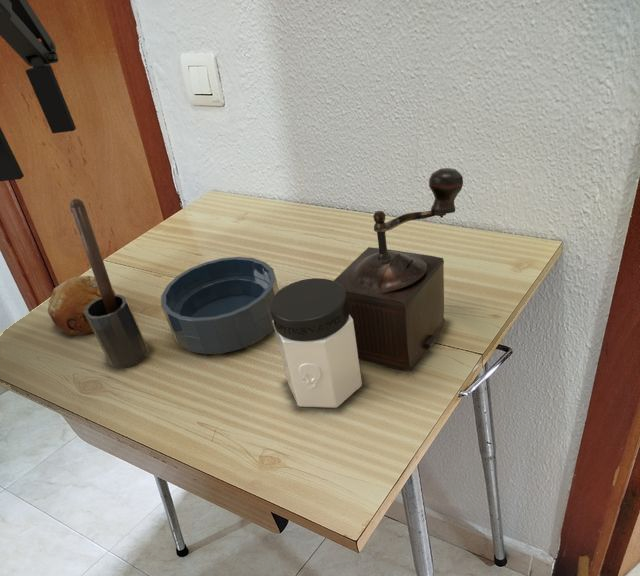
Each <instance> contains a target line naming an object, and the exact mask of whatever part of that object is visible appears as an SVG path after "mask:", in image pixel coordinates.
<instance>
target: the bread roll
mask: <svg viewBox="0 0 640 576" xmlns="http://www.w3.org/2000/svg"><path fill="white" fill-rule="evenodd" d="M113 292H114V294H116V292H115V290H114V289H113ZM100 297H101V294H100V291H99V288H98V285H97V282H96V279H95V277H94V275H82V276H74V277H70V278H69V279H67V280H65V281H63V282H61V283H60V284H59V285H57V286H55V287H54V288H53V290H52V294H51V295H50V297H49V300H48V307H47V313H48V315H49V317H50V318H51V321H52V322H53V324H54V325H55V327H57V329H58V330H60V331H61V332H63V333H64V334H67V335H68V336H84V335H89V334H92V333H94V332H93V330H92V328H91V326H90V324H89V322H88V321H87V319H86V317H85V312H84V310H85V309H86V307H87V306H88V304H90V303H91V302H93V301H94V300H96V299H98V298H100Z"/></svg>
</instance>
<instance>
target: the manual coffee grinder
mask: <svg viewBox="0 0 640 576" xmlns="http://www.w3.org/2000/svg"><path fill="white" fill-rule="evenodd" d="M463 178H464V176H463V175H462V174H461V172H460V171H458V170H457V169H455V168H452V167H451V168H450V167H444V168H439V169H437V170H435V171H433V172H432V173H431V175H430V176H429V178H428V187H429V189H430V191H431V192H432V194H433V198H434V200H433V203H432V205H431V207H430V210H427V211H425V210H424V211H414V212H408V213H405V214H401V215H399V216H396V217H394V218H393V219H391V220H388V221H386V213H385V212H384V211H383V210H377V211H375V212H374V214H373V216H372V217H373V221H374V225H373V231H374V232H376V236H377V245H378V247H370V246H368V247H367V248H366V249H365V250H364V251H363V252H362V253H361V254H360V255H359V256H358V257H357V258H355V259H354V260H353V261H352V262H351V263H350V264H349V266H347V267H346V268H345V269H344V270H343V271H342V272H341V273H340V274H339V275H338V276H337V277H336V278H335V279H333V281H335V282H337V283H339V284H340V285H342V286H343V287H344V289H345V291H346V294H347V301H348V308H349V314H350V316H351V317H352V319H353V322H354V330H355V337H356V344H357V352H358V359H359V360H362V361H366V362H368V363H369V362H370V363H374V364H376V365H381V366H385V367H388V368H392V369H396V370H400V371H411V370H412V369H413V368H414V366H415V365H416V364H418V362H419V361H420V360H421V359H422V358H423V356H425V354H426V353H427V352H428V351H429V350H430V349H431V348H432V347H433V346H434V344H435V343H436V341H437V338H438V336H439V335H440V333H441V332H442V329H443V327H444V325H445V323H446V318H445V278H444V277H445V275H444V274H445V273H444V270H445V269H444V267H445V266H444V264H445V260H444V258H443V257H439V256H434V255H428V254H423V253H415V252H409V251H402V250H396V249H389V248H388V247H387V237H386V235H387V234H386V232H387V231H391V230H393V229H395V228H397V227H398V226H400V225H402V224H405V223H407V222H410V221H416V220H425V219H429V218H432V217H440V218H441V219H442V218H444V216H447V214H454V213H455V212H456V205H455V200H456V198H457V196H458V194H460V192H461V191H462V188H463V186H464V179H463ZM385 221H386V222H385Z"/></svg>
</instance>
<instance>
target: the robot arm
mask: <svg viewBox="0 0 640 576" xmlns="http://www.w3.org/2000/svg"><path fill="white" fill-rule="evenodd" d="M0 37H1V38H2V39H3V41H5V42H6V43H7V44H8V46H10V48H11V49H12V50H13V51H14V52H15V53H16V54H17V55H18V56H19V57H20V58H21V59H22V60H23V62H25V63H26V64H27V65H28V66H29V67H32V68H27V69H25V74H26V76H27V78H28V80H29V83H30V85H31V87H32V89H33V92H34V94H35V97H36V99H37V101H38V104H39V105H40V108H41V111H42V112H43V115H44V118H45V120H46V122H47V124H48V126H49V128H50V131H51V133H52V134H59V133H67V132H68V133H69V132H75V130H76V129H77V127H76V124H75V121H74V119H73V117H72V114H71V112H70V109H69V106H68V105H67V102H66V99H65V97H64V95H63V92H62V90H61V87H60V85H59V83H58V80H57V76H56V75H55V73H54V70H53V67H52V65H51V64H57V63H58V62H59V56H58V54H57V47H56V44H55V42H54V41H53V39H52V38H51V37H52V36H50V34H49V33H48V31H47V29H46V28H45V26H44V25H43V23H42V22H41V20H40V18H39V17H38V16H37V14H36V12H35V11H34V9H33V7H32V6H31V4H30V3H29V1H28V0H0ZM24 177H25V175H24V173H23V170H22V169H21V166H20V164H19V162H18V160H17V158H16V156H15V154H14V152H13V150H12V149H11V146H10V143H9V142H8V140H7V138H6V136H5V133H4V132H3V130H2V128H1V127H0V182H7V181H17V180H21V179H23V178H24Z"/></svg>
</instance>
